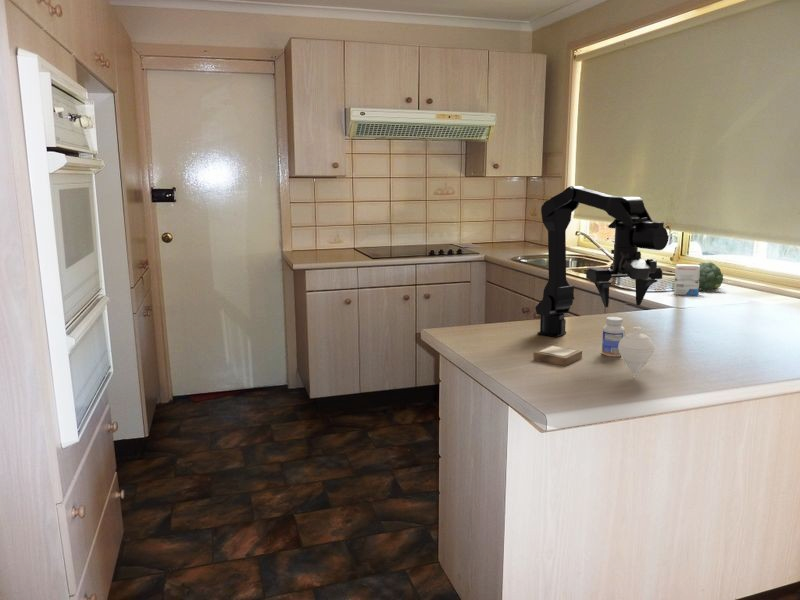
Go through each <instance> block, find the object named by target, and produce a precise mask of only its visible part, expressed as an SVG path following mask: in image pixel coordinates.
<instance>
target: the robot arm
mask: <svg viewBox="0 0 800 600" xmlns="http://www.w3.org/2000/svg"><path fill="white" fill-rule="evenodd" d="M580 204H582V205H585V206H588V207H592V208H595V209H598V210H601V211H602V210H603V211H604V212H605V213H607V215H608V216H610V217H612V218H613V219H614V220H613V221H612V222H611V223H610V224H609V225H608V226H607V227H608V228H609V229H614V245H613V246H614V248H613V249H611V250H610V252H611V253H610V254H612V255H613V259H612V260H613V262H612V264H611V265H610V267H609V268H610V269H608V268H607V269H606V268H603V267H589V268H588V269H587V271H586V273H585V280H586V279H587V280H590V282H591V283H592V284H594V285H595V287H596V290H597V291H598V294H599V296H600V298H601V302H602V303H603V306H604V307H605V308H609V303H610V287H611V285H612V282H610V280H611V279H613V278H614V279H615V278H629V279H631V280H633V281H634V280H635V303H636V304H635V305H636V306H638V307H639V306H641V305H642V302H643V300H644V298H645V296H646V293H647V292H648V290H649V288H650V286H652V285H653V284H655V283H658V281H659V280H662V279H663V275H664V273H663V270H662V268H661V267H658V266H657V265H658V263H657V262H658V261H657V260H656V259H655V258H647V259H642V253H641V251H640V250H639V249H642V250H643V249H645V250H653V251H662V250H664V249H666V247H667V245H668V242H669V237H670V236H669V235H668V230H667V229H666V228H665V224H664V221H654V222H653V220H652V218H651V216H650V215H649V212H648V209H646V207H645V203H644V200H643V199H642V198H641V197H639V196H622V195H621V196H620V195H619V196H618V195H617V196H616V195H611V194H607V193H603V192H600V191H597V190H593V189H590V188H585V187H584V186H582V185H573V186H572V185H571V186H568V187H567V188H565V189H564V190H563V191H561V192H560V193H557V194H556V195H554V196H552V197H551V198H550V199H548V200H546V201H545V202H543V204H542V205H541V207H540V212H541V213H540V214H541V220H542V224H543V225H544V227H545V229H546V230H547V248H548V249H547V250H548V251H547V254H548V256H547V257H548V258H547V259H548V281H547V282H546V285H545V287H544V289H543V292H542V293H543V294H542V299H541V300H540V302H538V303H537V305H535V312H536V315H538V316H540V317H539V319H540V320H539V321H540V323H539V324H540V325H539V331H537V335H543V336H548V337H553V338H558V337H560V336H563V335H565V334H567V331H566V321H567V320H566V318H565V314H569V312H570V309H571V306H573V302H574V300H575V295H574V294H575V293H574V290H575V288H574V285H570V284H569V282H568V280H567V249H566V248H567V245H566V244H567V243H566V240H567V237H566V236H567V233H566V232H567V228H569V227H568V226H569V225H570V223H571V221H572V213H573V212H574V211H575V210H577V208H578V207H579V205H580Z"/></svg>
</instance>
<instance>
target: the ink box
mask: <svg viewBox="0 0 800 600" xmlns="http://www.w3.org/2000/svg"><path fill="white" fill-rule="evenodd" d="M674 267H675V268H674V270H675V271H674V289H673V290H674V291H673V294H674V295H679V296H693V297H694V296H695V297H697V296H698V295H699V290H700V289H699V276H700V265H699V264H684V263H682V264H680V263H677V264H676V265H675V266H674Z"/></svg>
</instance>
